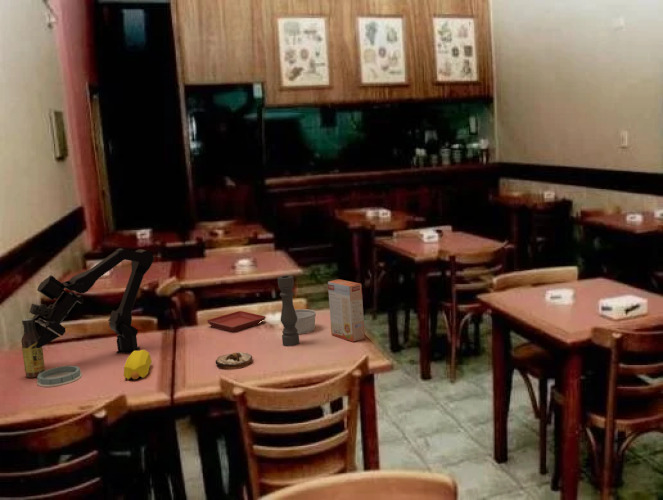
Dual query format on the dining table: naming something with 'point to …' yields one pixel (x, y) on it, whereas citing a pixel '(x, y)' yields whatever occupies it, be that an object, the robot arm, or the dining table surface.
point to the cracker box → (346, 310)
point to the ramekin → (305, 320)
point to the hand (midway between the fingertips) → (33, 345)
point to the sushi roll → (234, 360)
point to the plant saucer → (236, 321)
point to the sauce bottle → (31, 349)
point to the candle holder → (288, 311)
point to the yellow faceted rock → (137, 364)
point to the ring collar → (59, 376)
